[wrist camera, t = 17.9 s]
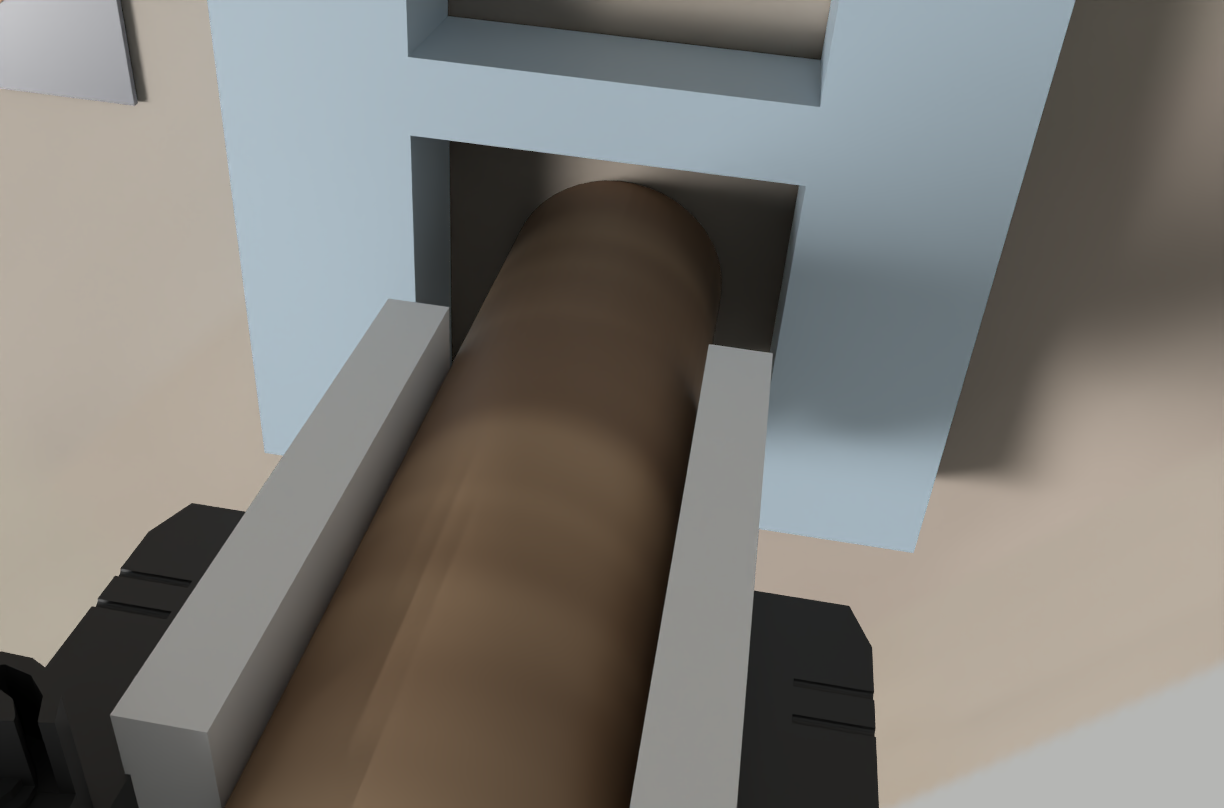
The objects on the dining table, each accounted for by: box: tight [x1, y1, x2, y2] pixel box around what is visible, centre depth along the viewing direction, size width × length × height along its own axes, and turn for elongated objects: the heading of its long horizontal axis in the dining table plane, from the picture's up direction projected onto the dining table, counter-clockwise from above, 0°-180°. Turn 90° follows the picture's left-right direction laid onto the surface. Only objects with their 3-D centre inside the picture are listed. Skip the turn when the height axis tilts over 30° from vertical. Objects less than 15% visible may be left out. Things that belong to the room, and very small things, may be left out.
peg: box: [224, 181, 722, 808], centre depth 12 cm, size 3×3×12 cm
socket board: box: [207, 0, 1075, 553], centre depth 15 cm, size 12×10×2 cm
